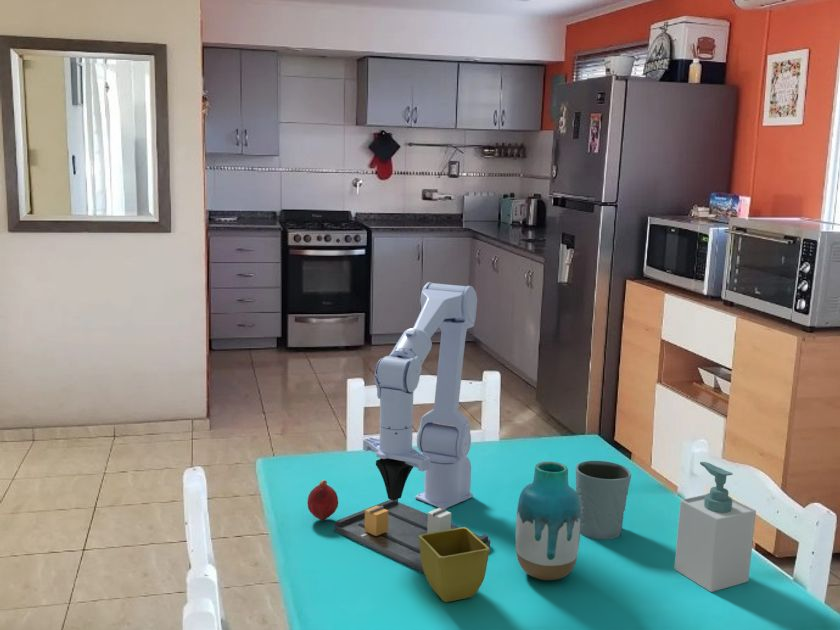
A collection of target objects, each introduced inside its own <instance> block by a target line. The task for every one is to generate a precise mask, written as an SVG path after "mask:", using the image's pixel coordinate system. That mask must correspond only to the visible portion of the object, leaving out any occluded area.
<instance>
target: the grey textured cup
mask: <svg viewBox="0 0 840 630" xmlns="http://www.w3.org/2000/svg"><path fill="white" fill-rule="evenodd" d="M631 478H632V472H631V470H630V469H629V468H627V467H626V466H624V465H622V464H619V463H615V462H613V461H606V460H586V461H582V462H579V463H578V464H576V465H575V491H576V492H577V494H578V496H579V499H580V507H581V526H580V535H582V536H583V537H586V538H589V539H594V540H600V541H601V540H603V541H604V540H612V539H617V538H618V537H620V536H621V533H622V531H623V529H622V528H623V522H624V512H625V511H626V505H627V497H628V493H629V487H630V484H631Z"/></svg>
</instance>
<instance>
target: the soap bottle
mask: <svg viewBox="0 0 840 630" xmlns="http://www.w3.org/2000/svg"><path fill="white" fill-rule="evenodd" d="M699 464H700V465H701V466H702V467H703V468H705V470H706V471H707V472H708V473H709V474H710V475H711V476H712V477H713V476H714V482H715V486H712V487H711V488H710V490H709V492H708V493H706V494H703V495H698V496H692V497H688V498H683V499H680V502H679V503H680V504H679V516H678V523H677V524H678V526H677V537H676V547H675V548H676V549H675V557H674V558H675V560H674V567H673V568H674V571H676V572H678V573H680V574H682V576H684V577H686V578H687V579H689V580H690V581H692V582H694V583H695V584H696V585H697V584H698V585H699V586H700V587H702V588H703V589H705V590H707V591H709V592H710V593H713V592H717V591H720V590H723V589H726V588H730V587H734V586H737V585H741V584H744V583H748V582H749V578H750V569H751V560H752V550H753V543H754V535H755V534H754V533H755V524H756V515H757V514H756V513H757V510H755V509H753V508H751V507H750V506H747V505H745V504H743V503H741V502H739V501H737V500H735V499H733V498H731V496H730V495H729V493H730V492H729V490H728V489H727V488H725V487H724V485H725V484H726V483H727V476H732V475H734V474H733V472H731V471H727V470H726V469H723V468H721V467H718V466H716V465H715V464H712V463H711V462H706V461H700V462H699Z"/></svg>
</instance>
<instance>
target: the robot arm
mask: <svg viewBox="0 0 840 630" xmlns="http://www.w3.org/2000/svg"><path fill="white" fill-rule="evenodd" d="M419 300H420V301H419V302H420V309H421V310H420V313H419V315H418V316H417V319H416V321H415V322H414V326H413V327H412V328H408V329H406V330H404V332H403V333H402V335H401V336H400V337H399V339H398V340H397V342H396V344H395V346H394V347H393V349H392V350H391V352H390V354H389V355H386V356H384V357H382V358H381V357H380V359H379V360H378V361H377V363H376V366H375V372H374V376H373V379H374V380H373V381H374V384H375V385H374V386H376V393H377V394H376V396H377V398H378V399H379V400H380V401H379V438H374V437H368V438H364V439H363V440H362V446H363V447H362V450H363V451H365V452H368V451H371V452H373V453H375V457H377V458H379V459H377V460H376V461H375V466H376V468H377V469H378V471H379V472H380V475H381V478H382V481H383V483H384V487H385V492H386V496H387V498H388V500H393V501H394V500H397V499H398V500H400V499H401V498H402V496H403V492H404V487H405V485H406V482H407V479H408V477H409V476H410V474H411V471H412V470H413V469H414V468H416V469H417V470H418V471H419V472H424V491H423V492H421V493H418V494H416V495H415V496H414V498H415V499H416V500H419V501H422V502H423V503H427V504H429V505H432V506H433V507H436V508H441V509H443V508H445V509H446V510H447V509H448V508H450V507H452V506H455V505H457V504H460V503H461V502H464V501H466V500H469V499H470V498H473V497H474V494H473V493H471V487H472V486H471V484H472V482H471V481H472V464H471V461H470V458H469V457H468V454H469V453H470V449H471V443H472V435H471V421H470V420H469V419H468V418H467V417H466V416H465V415H464V414H463V413H462V412H461V411H460V410H459V404H460V394H461V385H462V384H461V383H462V373H463V367H464V366H463V365H464V354H465V344H466V337H467V331H468V330H469V329H471V328H473V327H474V326H475V322H476V318H477V305H478V297H477V292H476V290H475V288H474V287H473V286H472V285H466V286H465V285H455V284H445V283H444V284H443V283H434V282H431V281H428V282H426V283H425V285H423V288H422V289H421V293H420V299H419ZM438 328H439V330H440V331H441V335H440V344H439V353H438V364H437V374H436V385H435V394H434V403H433V408H432V409H431V410H428V412H425V414H424V415H422V417H421V418H420V424H419V428H418V431H417V434H416V446H417V448H418V449H415V448H414V447H413V425H414V419H413V418H414V415H413V414H414V392H415V390H416V389H417V388H418V385H419V382H420V377H421V374H422V370H423V368H422V365H423V364H424V361H425V360H426V358H427V356H428V355H429V353H430V352H431V349H432V345H433V344H432V339H431V338H432V337H433V336H434V334H435V333H436V331H437V330H438Z"/></svg>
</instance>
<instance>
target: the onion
mask: <svg viewBox="0 0 840 630" xmlns="http://www.w3.org/2000/svg"><path fill="white" fill-rule="evenodd" d="M338 507H339V497H338V494H337V492H336V490H335V489H334V488H333V487H331V486H330V485H329V484H328V481H327V480H326V479H322V480H321V481H320V482H319V484H318V485H316V486H315V487H314V488H312V490H310V493H309V494H308V497H307V509H308V511H309V512H310V513H311V515H312V516H314V517H315V518H316V519H318V520H320V521H326V520H327V519H328V518H330V517H331V516H333V514H335V512H336V510H337V509H338Z"/></svg>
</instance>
